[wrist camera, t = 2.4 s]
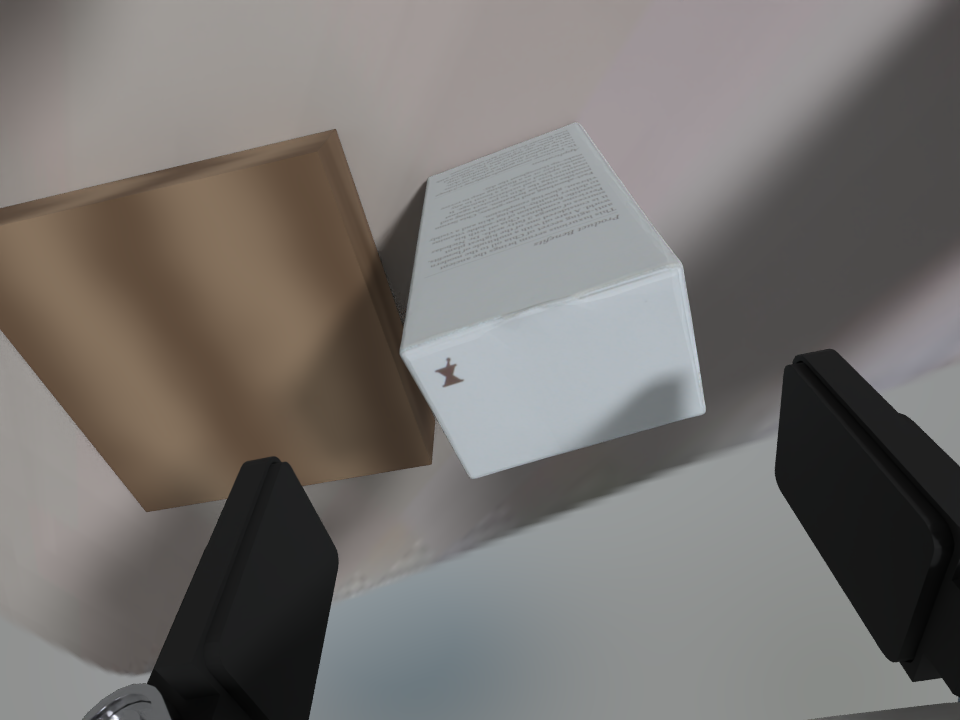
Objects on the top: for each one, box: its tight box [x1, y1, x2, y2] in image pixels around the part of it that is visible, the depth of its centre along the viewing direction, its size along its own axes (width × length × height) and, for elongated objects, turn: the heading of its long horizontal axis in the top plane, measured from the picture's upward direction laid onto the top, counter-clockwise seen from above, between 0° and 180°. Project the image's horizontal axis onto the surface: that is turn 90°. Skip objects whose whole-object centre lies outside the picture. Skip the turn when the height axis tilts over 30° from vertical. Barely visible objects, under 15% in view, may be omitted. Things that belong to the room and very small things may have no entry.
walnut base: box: [0, 129, 435, 512], centre depth 24 cm, size 14×14×3 cm
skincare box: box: [399, 122, 706, 479], centre depth 18 cm, size 6×4×12 cm
